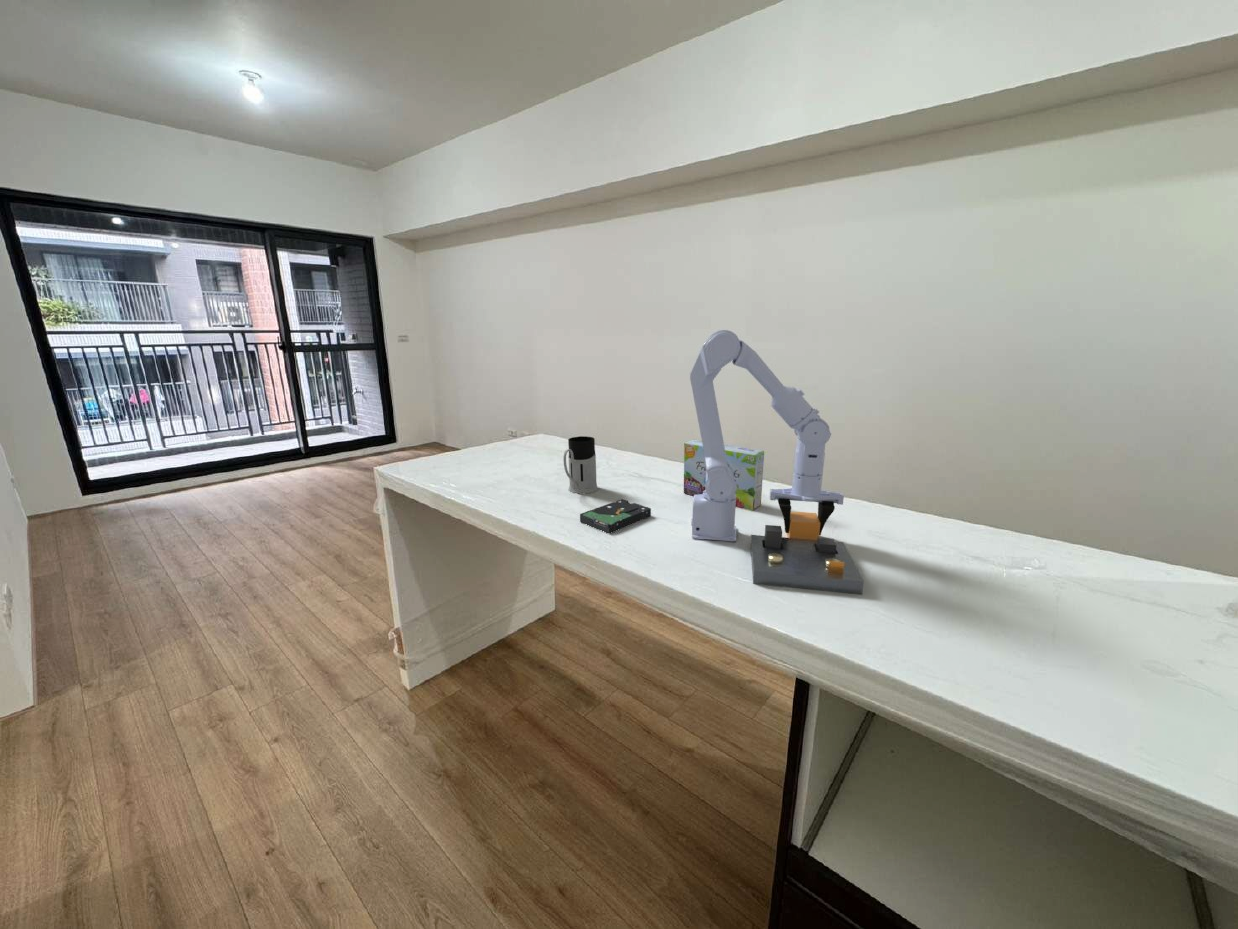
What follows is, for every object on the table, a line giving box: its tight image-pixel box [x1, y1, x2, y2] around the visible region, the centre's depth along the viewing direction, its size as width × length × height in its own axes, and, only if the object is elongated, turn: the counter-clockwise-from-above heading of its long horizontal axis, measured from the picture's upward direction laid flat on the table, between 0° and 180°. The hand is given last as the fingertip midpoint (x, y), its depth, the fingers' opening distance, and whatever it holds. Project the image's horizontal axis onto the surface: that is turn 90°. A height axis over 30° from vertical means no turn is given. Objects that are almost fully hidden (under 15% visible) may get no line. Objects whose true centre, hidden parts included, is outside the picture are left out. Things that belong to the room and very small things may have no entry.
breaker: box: [764, 524, 783, 549], centre depth 94 cm, size 3×3×4 cm
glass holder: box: [563, 435, 599, 495], centre depth 134 cm, size 9×14×15 cm, turn 156°
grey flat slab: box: [750, 534, 865, 595], centre depth 90 cm, size 18×16×4 cm
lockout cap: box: [786, 511, 820, 540], centre depth 102 cm, size 6×6×5 cm
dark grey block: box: [816, 537, 837, 554], centre depth 92 cm, size 3×3×4 cm
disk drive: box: [579, 498, 652, 534], centre depth 115 cm, size 10×3×15 cm
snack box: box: [683, 439, 765, 512], centre depth 126 cm, size 21×6×15 cm, turn 49°
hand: (802, 532), depth 103 cm, fingers closed on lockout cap, 6 cm apart
